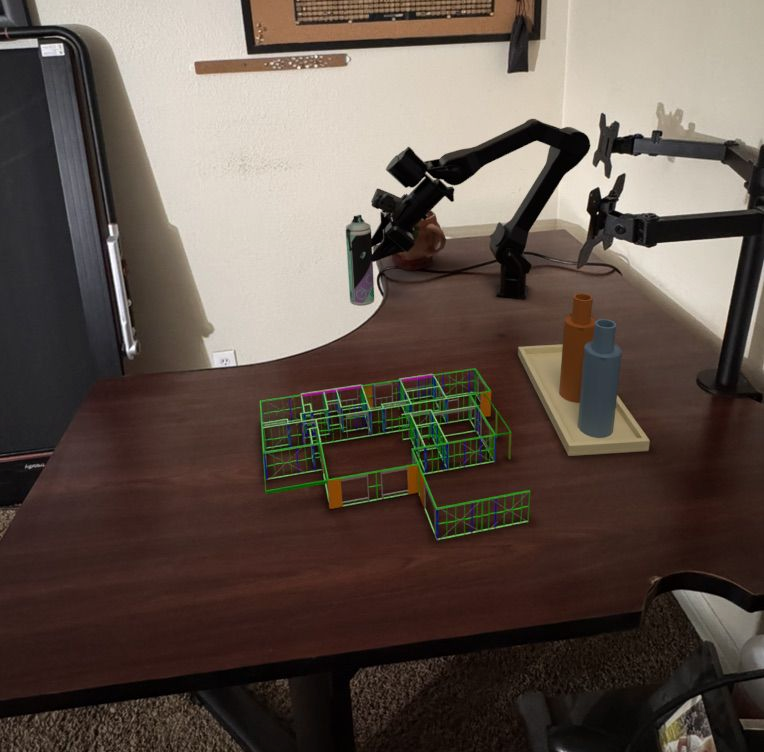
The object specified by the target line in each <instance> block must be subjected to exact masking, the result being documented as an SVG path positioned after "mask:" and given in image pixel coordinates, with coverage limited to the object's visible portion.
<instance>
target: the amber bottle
mask: <svg viewBox="0 0 764 752" xmlns="http://www.w3.org/2000/svg"><path fill="white" fill-rule="evenodd" d="M593 300H594V297H593V295H591V294H589V293H581V292H580V293H579V292H578V293H575V294H574V295H573V300H572V312H571V313H570V314H567V315H566V316H564V321H563V335H562V344H563V347H562V361H561V375H560V389H559V394H560V396H561V397H562V398H563V399H565V400H567V401H570V402H575V403H580V394H581V382H582V371H583V359H584V348H585V345H586V344H587V343H588V342H590V341H593V338H594V327H595V321H597V320H598V319H597V318H596V317H595V316H594V315H593V316H592V311H593Z"/></svg>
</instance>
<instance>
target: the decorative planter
mask: <svg viewBox="0 0 764 752" xmlns="http://www.w3.org/2000/svg"><path fill="white" fill-rule="evenodd" d="M427 216H428V218H427V219H426V220H424V219H422V220H421V221H420V222H419V223H418V224H417V225H416V226H415V227H414V232H413V233H412V236H413V240H414V246H413V247H412V248H411V249H410V250H409V251H408V252H406V251H405V252H400V253H397V254H394V255H391V258H392V259H391V260H392V262H393V264H394V265H395V266H396V267H397V268H399V269H401V270H405V271H416V270H421V269H424V268H427V267H428V266H430V265H431V264H432V262H433V259H434V256H436V255H437V254H438V253H439V252H441V251H442V250H444V249H445V246H446V244H447V243H446V242H447V238H446V235H445V233H444V231H443V230H442V227H441V225H440V224H439V222H438V219H437V218H438V217H437V215H436V213H435V211H433V210H431V211H430V212H429V213H428V214H427ZM438 245H439V248H437V247H438Z"/></svg>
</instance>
